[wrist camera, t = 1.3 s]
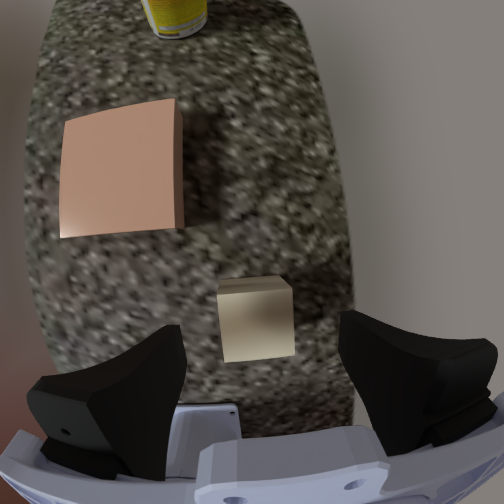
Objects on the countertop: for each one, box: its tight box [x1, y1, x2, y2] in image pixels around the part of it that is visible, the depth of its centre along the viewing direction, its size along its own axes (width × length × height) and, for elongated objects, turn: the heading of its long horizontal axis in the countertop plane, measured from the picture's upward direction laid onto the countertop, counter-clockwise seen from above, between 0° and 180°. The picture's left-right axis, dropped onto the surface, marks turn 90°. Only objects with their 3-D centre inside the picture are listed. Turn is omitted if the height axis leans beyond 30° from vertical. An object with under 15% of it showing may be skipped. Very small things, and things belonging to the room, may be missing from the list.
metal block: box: [217, 275, 295, 362], centre depth 19 cm, size 4×4×5 cm
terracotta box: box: [59, 98, 185, 238], centre depth 18 cm, size 9×9×4 cm
